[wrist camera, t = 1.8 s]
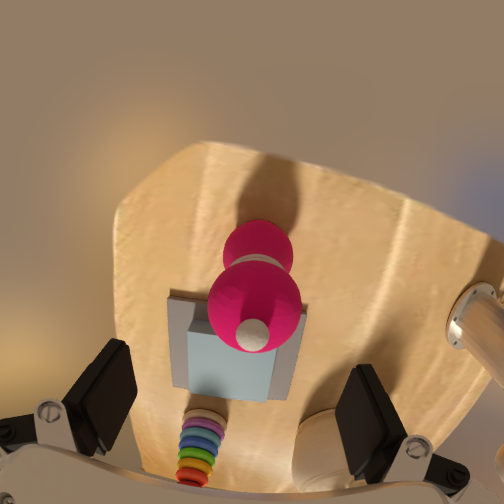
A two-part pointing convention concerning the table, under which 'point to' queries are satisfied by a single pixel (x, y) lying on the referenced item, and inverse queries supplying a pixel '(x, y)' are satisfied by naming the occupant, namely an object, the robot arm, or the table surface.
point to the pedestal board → (201, 312)
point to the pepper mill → (255, 290)
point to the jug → (321, 456)
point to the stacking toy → (199, 446)
